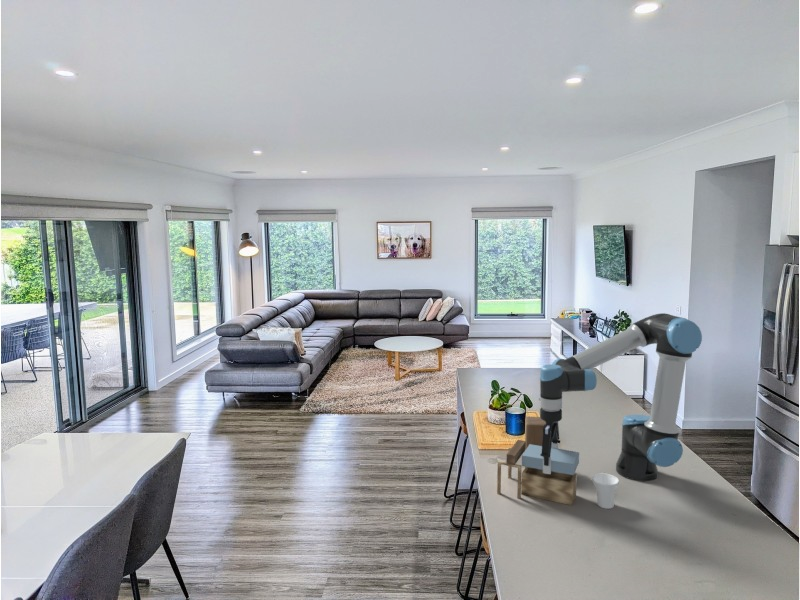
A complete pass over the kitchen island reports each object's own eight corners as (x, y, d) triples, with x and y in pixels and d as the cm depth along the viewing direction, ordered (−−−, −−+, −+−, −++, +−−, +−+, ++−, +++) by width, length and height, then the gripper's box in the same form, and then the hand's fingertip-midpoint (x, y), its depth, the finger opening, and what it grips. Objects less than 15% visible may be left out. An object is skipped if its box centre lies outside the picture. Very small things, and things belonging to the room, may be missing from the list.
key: (525, 449, 207) (525, 441, 207) (514, 465, 194) (514, 455, 193) (517, 448, 208) (517, 439, 208) (506, 463, 195) (506, 454, 195)
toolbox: (577, 491, 200) (578, 459, 198) (570, 509, 186) (571, 476, 185) (508, 476, 212) (509, 447, 210) (497, 493, 198) (497, 461, 197)
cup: (617, 500, 193) (618, 473, 191) (618, 513, 184) (619, 485, 183) (590, 496, 195) (591, 470, 194) (590, 509, 187) (592, 481, 185)
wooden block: (551, 474, 213) (552, 425, 211) (525, 472, 215) (526, 424, 213) (549, 463, 223) (550, 416, 220) (524, 461, 225) (525, 415, 222)
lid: (579, 462, 196) (579, 452, 196) (573, 475, 187) (573, 464, 186) (529, 454, 205) (529, 444, 204) (521, 465, 195) (521, 455, 194)
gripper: (547, 397, 205) (547, 452, 208) (532, 417, 184) (532, 478, 187) (568, 399, 201) (567, 455, 204) (554, 420, 181) (554, 482, 184)
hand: (550, 466), depth 196 cm, fingers closed on lid, 11 cm apart
